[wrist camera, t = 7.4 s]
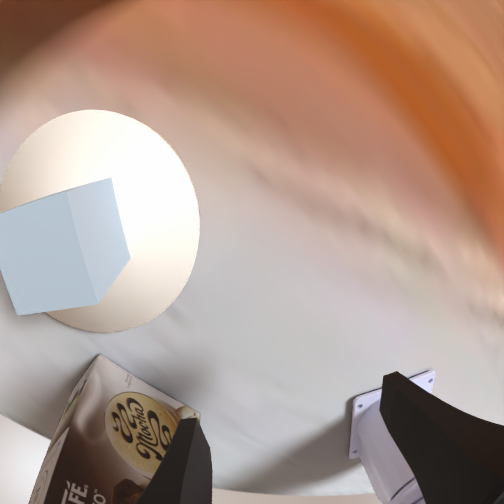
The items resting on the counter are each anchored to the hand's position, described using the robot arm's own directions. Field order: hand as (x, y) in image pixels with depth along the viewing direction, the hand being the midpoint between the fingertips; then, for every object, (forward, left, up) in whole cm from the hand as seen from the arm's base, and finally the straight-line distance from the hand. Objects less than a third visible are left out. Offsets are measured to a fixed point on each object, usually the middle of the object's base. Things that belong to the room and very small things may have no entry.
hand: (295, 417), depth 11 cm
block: (+7, +9, -8) cm, 14 cm away
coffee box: (-7, +11, -10) cm, 16 cm away
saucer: (+7, +9, -9) cm, 15 cm away
